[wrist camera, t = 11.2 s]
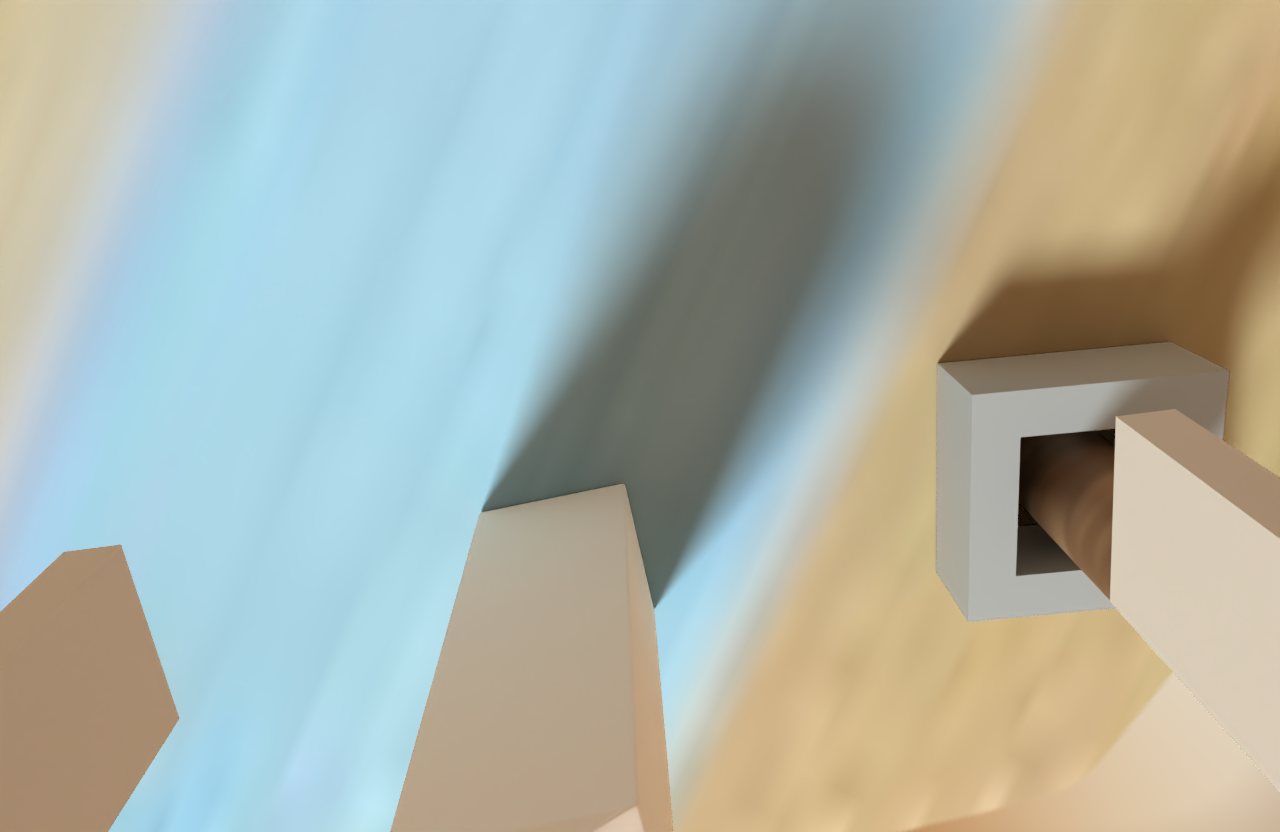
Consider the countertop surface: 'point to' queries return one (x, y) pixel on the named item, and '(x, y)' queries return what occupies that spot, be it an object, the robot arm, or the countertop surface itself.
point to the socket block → (990, 461)
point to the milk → (546, 681)
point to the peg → (1072, 496)
